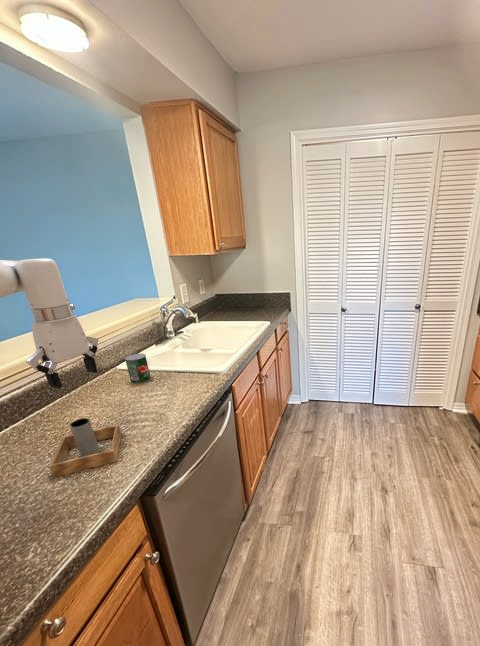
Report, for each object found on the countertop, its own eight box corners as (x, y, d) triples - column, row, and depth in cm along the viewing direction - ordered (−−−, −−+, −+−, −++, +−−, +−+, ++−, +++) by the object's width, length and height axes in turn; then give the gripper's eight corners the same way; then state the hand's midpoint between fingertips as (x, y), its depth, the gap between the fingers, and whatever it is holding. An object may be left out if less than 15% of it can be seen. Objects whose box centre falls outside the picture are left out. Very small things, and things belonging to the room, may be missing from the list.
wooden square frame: (53, 477, 83) (48, 466, 81) (66, 446, 95) (62, 436, 94) (117, 461, 88) (113, 450, 87) (121, 433, 100) (118, 424, 99)
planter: (95, 457, 90) (84, 425, 86) (78, 459, 89) (66, 427, 85) (102, 447, 94) (92, 417, 90) (85, 449, 93) (74, 419, 89)
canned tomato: (132, 378, 141) (126, 354, 137) (152, 375, 143) (146, 352, 139) (129, 385, 134) (123, 361, 130) (150, 382, 136) (144, 358, 132)
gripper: (76, 305, 85) (95, 365, 92) (1, 321, 70) (30, 392, 77) (97, 306, 83) (114, 368, 89) (24, 323, 68) (51, 396, 74)
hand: (75, 379), depth 83 cm, fingers open, 9 cm apart
